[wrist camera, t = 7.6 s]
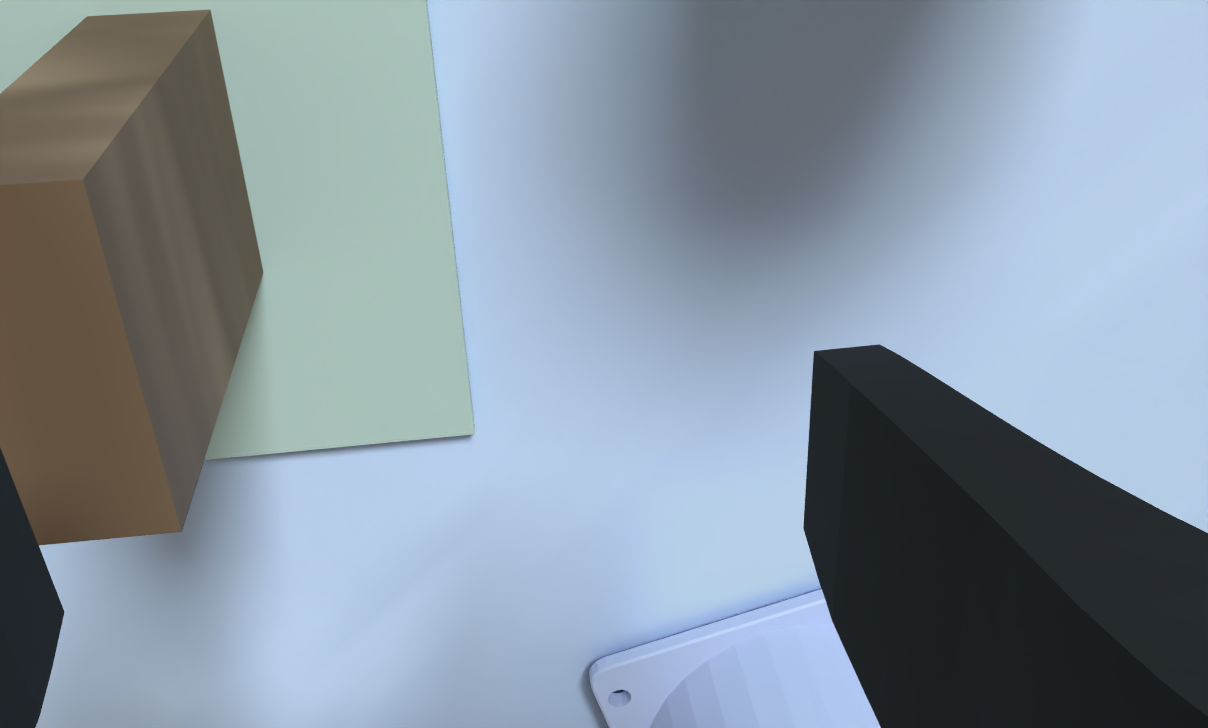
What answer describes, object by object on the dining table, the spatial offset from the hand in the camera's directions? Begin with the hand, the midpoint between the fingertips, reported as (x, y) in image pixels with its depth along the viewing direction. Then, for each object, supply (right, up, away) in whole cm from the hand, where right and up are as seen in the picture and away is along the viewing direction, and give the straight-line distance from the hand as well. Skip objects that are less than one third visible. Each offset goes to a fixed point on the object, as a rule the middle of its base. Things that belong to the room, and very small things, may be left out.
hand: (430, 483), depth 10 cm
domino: (-5, +4, +8) cm, 10 cm away
